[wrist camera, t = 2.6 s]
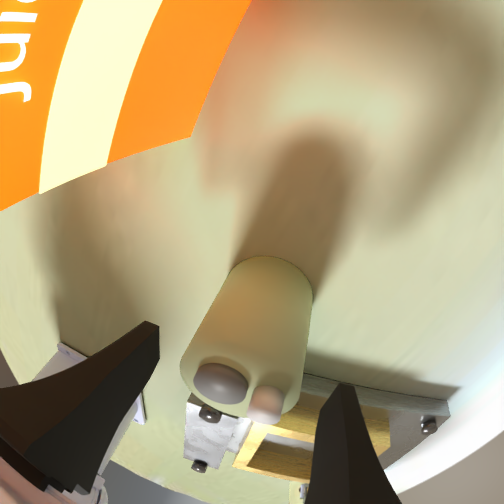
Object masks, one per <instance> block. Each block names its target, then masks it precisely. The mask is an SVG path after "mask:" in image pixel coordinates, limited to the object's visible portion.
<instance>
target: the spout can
mask: <svg viewBox="0 0 504 504" xmlns="http://www.w3.org/2000/svg"><path fill="white" fill-rule="evenodd" d="M312 302H313V293H312V288H311V285H310V283H309V281H308V279H307V278H306V276H305V275H304V274H303V273H302V271H301V270H299V269H298V268H297V267H296V266H294V265H293V264H291V263H289V262H287V261H285V260H283V259H280V258H276V257H271V256H257V257H252V258H249V259H246V260H244V261H242V262H240V263H239V264H237V265H236V266H235V267H234V268H233V269H232V270H231V272H230V273H229V275H228V277H227V279H226V280H225V282H224V284H223V286H222V287H221V289H220V291H219V293H218V294H217V296H216V298H215V300H214V301H213V303H212V305H211V307H210V309H209V310H208V312H207V314H206V316H205V317H204V319H203V321H202V323H201V324H200V326H199V328H198V330H197V332H196V333H195V335H194V337H193V339H192V340H191V342H190V344H189V346H188V348H187V349H186V351H185V353H184V355H183V356H182V359H181V361H180V372H181V376H182V378H183V380H184V382H185V384H186V385H187V387H188V388H189V389H190V390H191V391H192V393H193V394H195V395H196V396H197V397H198V398H199V399H200V400H202V401H203V402H205V403H206V404H208V405H209V406H211V407H213V408H215V409H217V410H220V411H222V412H224V413H227V414H230V415H234V416H238V417H243V418H249V419H250V420H252V421H254V422H256V423H259V424H263V425H273V424H276V423H278V422H279V421H280V418H281V414H284V413H286V412H287V411H289V410H290V409H292V408H293V407H294V406H295V404H296V403H297V401H298V399H299V396H300V390H301V384H302V377H303V371H304V364H305V357H306V350H307V343H308V335H309V327H310V319H311V311H312Z"/></svg>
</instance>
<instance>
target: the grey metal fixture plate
mask: <svg viewBox="0 0 504 504" xmlns="http://www.w3.org/2000/svg"><path fill="white" fill-rule="evenodd" d="M339 383H343V382H338V381H334V380H330V379H325V378H321V377H317V376H313V375H309V374H305V373H303V377H302V384H301V390H300V396H299V399H298V401H297V403H296V404H295V406H294V407H293V408H292V409H290V410H289V411H287V412H286V413H284V414H281V418H280V421H279V422H278V423H276V424H273V425H263V424H259V423H256V422H254V421H252V420H250V419H249V418H243V417H238V416H234V415H230V414H227V413H224V412H222V411H220V410H217V409H215V408H213V407H211V406H209V405H208V404H206V403H205V402H203V401H202V400H200V399H199V398H198V397H197V396H196V395H195V394H193V393H191V395H190V397H189V399H188V401H187V409H186V423H185V439H184V458H186V459H189V460H192V461H194V462H193V465H192V467H191V468H192V469H193V470H195V471H197V472H200V473H205V472H206V469H207V466H209V467H212V468H215V469H218V468H219V466H220V463H221V461H222V458H223V456H224V453H225V451H226V450H227V451H230V452H233V453H236V456H235V459H234V462H233V465H232V467H236V468H239V469H243V470H247V471H250V472H254V473H258V474H263V475H267V476H271V477H276V478H280V479H285V480H290V481H296V482H302V483H308V484H309V482H310V476H311V468H312V459H313V449H314V440H315V431H316V427H317V422H318V417H319V413H320V409H321V408H322V406H323V405H324V404H325V402H326V401H327V400H328V398H329V397H330V395H331V394H332V393H333V391H334V390H335V388H336V387H337V385H338V384H339ZM344 384H347V383H344ZM348 385H352V384H348ZM353 386H354V387H355V390H356V393H357V397H358V400H359V404H360V407H361V411H362V414H363V417H364V420H365V424H366V427H367V430H368V432H369V435H370V438H371V441H372V444H373V447H374V449H375V452H376V454H377V457H378V459H379V462H380V464H381V466H382V468H383V470H384V469H385V468H387V467H388V466H390V465H391V464H393V463H394V462H395V461H397V460H398V459H400V458H401V457H402V456H404V455H405V454H406V453H408V452H409V451H410V450H412V449H413V448H414V447H415V446H417V445H418V444H419V443H420V442H422V441H423V440H424V439H425V438H427V437H428V436H429V435H430V434H433V433H434V432H436V431H437V428H438V427H439V426H441V425H442V424H443V423H444V422H445V421H446V420H447V419H448V418H449V417H450V412H449V407H448V402H447V400H439V399H431V398H424V397H417V396H411V395H404V394H398V393H393V392H387V391H382V390H376V389H371V388H366V387H361V386H356V385H353Z"/></svg>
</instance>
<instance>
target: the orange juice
mask: <svg viewBox="0 0 504 504" xmlns="http://www.w3.org/2000/svg"><path fill="white" fill-rule="evenodd" d="M250 2H251V0H0V211H2V210H4V209H6V208H8V207H10V206H11V205H13V204H15V203H17V202H19V201H21V200H23V199H25V198H27V197H29V196H32V195H34V194H36V193H39V194H41V193H43V192H46V191H48V190H50V189H52V188H54V187H56V186H59V185H61V184H63V183H65V182H68V181H70V180H72V179H75V178H77V177H80V176H82V175H84V174H87V173H89V172H92V171H94V170H97V169H99V168H102V167H105V166H106V164H107V163H110V162H113V161H115V160H118V159H121V158H124V157H127V156H130V155H133V154H136V153H139V152H142V151H145V150H148V149H151V148H154V147H157V146H160V145H164V144H167V143H170V142H174V141H177V140H181V139H184V138H188V137H190V136H191V134H192V131H193V128H194V126H195V123H196V121H197V118H198V115H199V113H200V110H201V108H202V105H203V103H204V101H205V98H206V96H207V93H208V91H209V89H210V86H211V84H212V82H213V79H214V77H215V75H216V72H217V70H218V68H219V66H220V63H221V61H222V59H223V57H224V55H225V52H226V50H227V48H228V46H229V44H230V42H231V40H232V38H233V36H234V34H235V32H236V29H237V27H238V25H239V23H240V21H241V19H242V18H243V16H244V14H245V12H246V10H247V8H248V6H249V4H250Z"/></svg>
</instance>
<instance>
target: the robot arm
mask: <svg viewBox="0 0 504 504" xmlns="http://www.w3.org/2000/svg"><path fill="white" fill-rule="evenodd" d="M57 347H58V351H57V353H56V354H55V355H54V356H53V357H52V358H51V359H50V360H49V362H48V363H47V364H46V365H45V366H44V367H43V368H42V370H41V371H40V372H39V373H38V374H37V375H36V377H35V378H34V379H33V380H32V381H31V382H29V383H25V384H21V385H17V386H12V387H6V388H0V504H108V496H107V491H106V489H105V487H104V486H103V484H104V482H105V480H104V479H103V478H101V477H100V476H101V474H102V472H103V470H104V469H105V467H106V465H107V463H108V462H109V460H110V458H111V456H112V455H113V453H114V451H115V449H116V448H117V446H118V444H119V443H120V441H121V439H122V437H123V436H124V434H125V432H126V431H127V429H128V427H129V425H130V424H131V422H132V420H133V421H135V422H137V423H139V424H141V425H145V423H146V419H145V414H144V408H143V402H142V395H141V391H142V390H143V388H144V387H145V385H146V384H147V382H148V381H149V379H150V377H151V375H152V373H153V371H154V369H155V367H156V365H157V363H158V361H159V359H160V349H159V326H157V325H155V324H153V323H150V322H148V321H144V322H142V323H141V324H140V325H138V326H137V327H135V328H134V329H132V330H131V331H130V332H128V333H127V334H125V335H124V336H122V337H121V338H119V339H118V340H117V341H115V342H113V343H112V344H110V345H109V346H107V347H106V348H104V349H103V350H101V351H99V352H98V353H96V354H94V355H92V356H91V357H89V358H87V357H85V356H83V355H82V354H80V353H78V352H76V351H75V350H73V349H71V348H69V347H68V346H66V345H64V344H63V343H61V342H59V343H58V344H57ZM304 504H402V503H401V502H400V500H399V498H398V496H397V495H396V493H395V491H394V490H393V488H392V486H391V484H390V482H389V481H388V479H387V477H386V475H385V473H384V470H383V468H382V466H381V464H380V462H379V459H378V457H377V454H376V452H375V449H374V447H373V444H372V441H371V438H370V435H369V432H368V430H367V427H366V424H365V420H364V417H363V414H362V411H361V407H360V404H359V400H358V397H357V393H356V390H355V387H354V386H353V385H348V384H344V383H339V384H338V385H337V387H336V388H335V390H334V391H333V393H332V394H331V395H330V397H329V398H328V400H327V401H326V402H325V404H324V405H323V406H322V408H321V409H320V413H319V417H318V422H317V427H316V431H315V440H314V449H313V459H312V468H311V476H310V482H309V488H308V492H307V495H306V499H305V503H304Z"/></svg>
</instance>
